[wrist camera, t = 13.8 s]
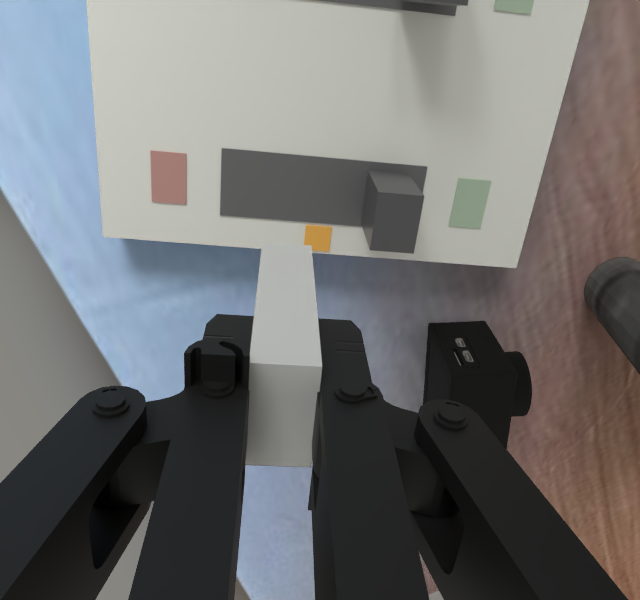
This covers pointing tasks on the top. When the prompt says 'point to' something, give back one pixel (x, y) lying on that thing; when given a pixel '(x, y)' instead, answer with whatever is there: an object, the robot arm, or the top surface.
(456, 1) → the block
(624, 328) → the beverage cup
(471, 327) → the digital camera
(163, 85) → the breaker panel
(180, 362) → the top surface
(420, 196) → the block
